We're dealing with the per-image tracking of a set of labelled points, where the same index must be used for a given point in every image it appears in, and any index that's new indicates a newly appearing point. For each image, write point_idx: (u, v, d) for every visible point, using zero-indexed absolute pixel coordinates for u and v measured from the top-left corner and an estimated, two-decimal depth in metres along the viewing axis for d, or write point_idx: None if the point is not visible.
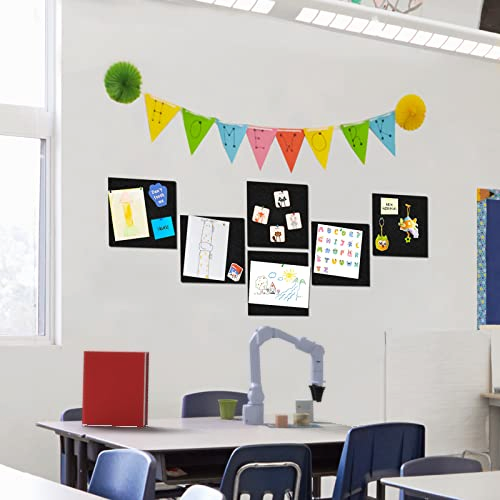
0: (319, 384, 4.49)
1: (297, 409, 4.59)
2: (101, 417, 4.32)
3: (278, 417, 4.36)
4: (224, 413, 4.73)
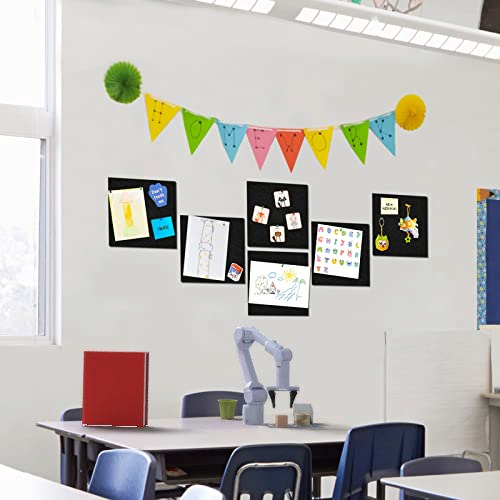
0: (266, 389, 4.38)
1: None
2: (101, 417, 4.32)
3: (278, 417, 4.36)
4: (224, 413, 4.73)
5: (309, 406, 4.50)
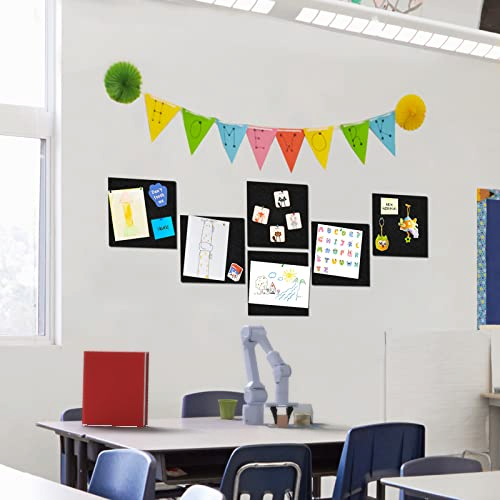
0: (265, 405, 4.38)
1: None
2: (101, 417, 4.32)
3: (278, 417, 4.36)
4: (224, 413, 4.73)
5: (309, 406, 4.50)
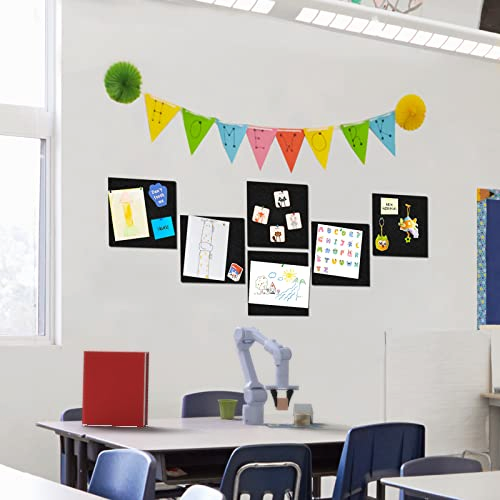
0: (265, 388, 4.38)
1: None
2: (101, 417, 4.32)
3: (278, 400, 4.36)
4: (224, 413, 4.73)
5: (309, 406, 4.50)
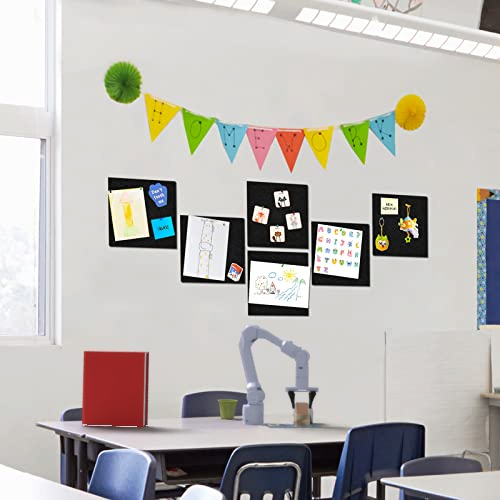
0: (285, 390, 4.45)
1: None
2: (101, 417, 4.32)
3: (298, 404, 4.42)
4: (224, 413, 4.73)
5: None
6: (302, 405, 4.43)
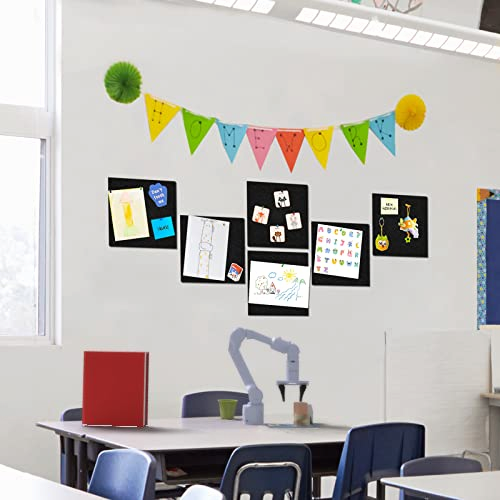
0: (276, 383, 4.50)
1: None
2: (101, 417, 4.32)
3: (299, 404, 4.43)
4: (224, 413, 4.73)
5: (309, 407, 4.50)
6: (302, 405, 4.44)
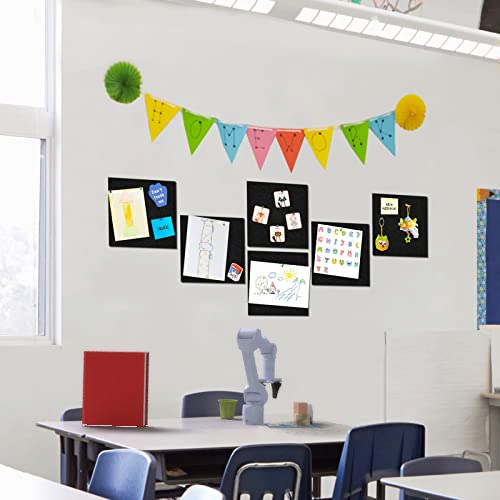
0: None
1: None
2: (101, 417, 4.32)
3: (299, 404, 4.43)
4: (224, 413, 4.73)
5: (309, 407, 4.50)
6: (302, 405, 4.44)
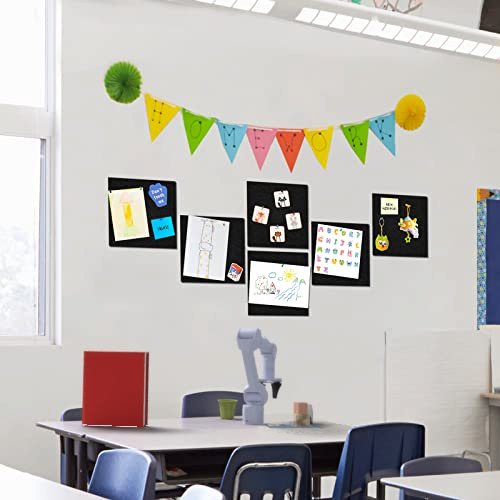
0: None
1: None
2: (101, 417, 4.32)
3: (299, 404, 4.43)
4: (224, 413, 4.73)
5: (309, 407, 4.50)
6: (302, 405, 4.44)
